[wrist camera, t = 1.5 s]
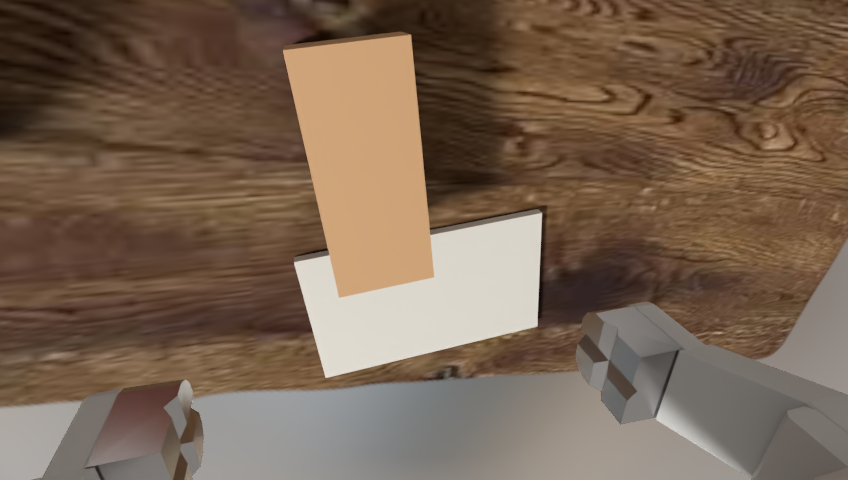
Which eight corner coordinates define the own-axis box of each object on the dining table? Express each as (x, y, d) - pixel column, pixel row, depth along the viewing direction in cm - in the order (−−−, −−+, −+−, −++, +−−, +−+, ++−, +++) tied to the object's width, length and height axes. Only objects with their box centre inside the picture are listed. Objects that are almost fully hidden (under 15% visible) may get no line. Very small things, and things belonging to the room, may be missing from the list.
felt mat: (537, 209, 37) (542, 212, 37) (533, 321, 43) (537, 326, 43) (294, 256, 34) (293, 262, 33) (325, 371, 40) (325, 377, 39)
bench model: (286, 37, 27) (282, 50, 20) (383, 25, 28) (411, 34, 21) (331, 237, 34) (339, 297, 27) (407, 223, 35) (434, 277, 28)
